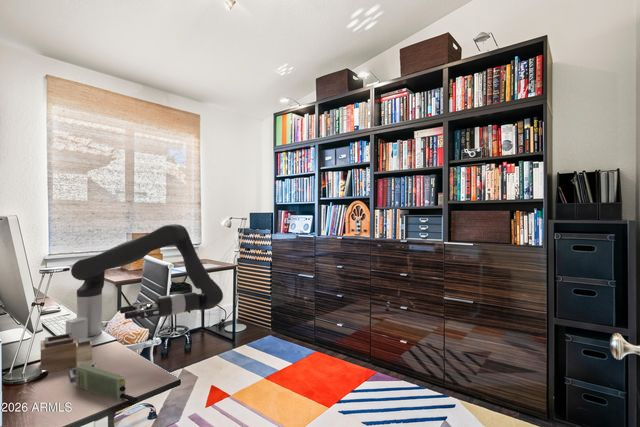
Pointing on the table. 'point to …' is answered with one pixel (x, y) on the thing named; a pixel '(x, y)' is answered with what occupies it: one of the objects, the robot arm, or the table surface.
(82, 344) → the beech plug
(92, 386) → the handheld radio
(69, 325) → the skincare box
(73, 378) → the low socket
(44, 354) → the walnut dock
